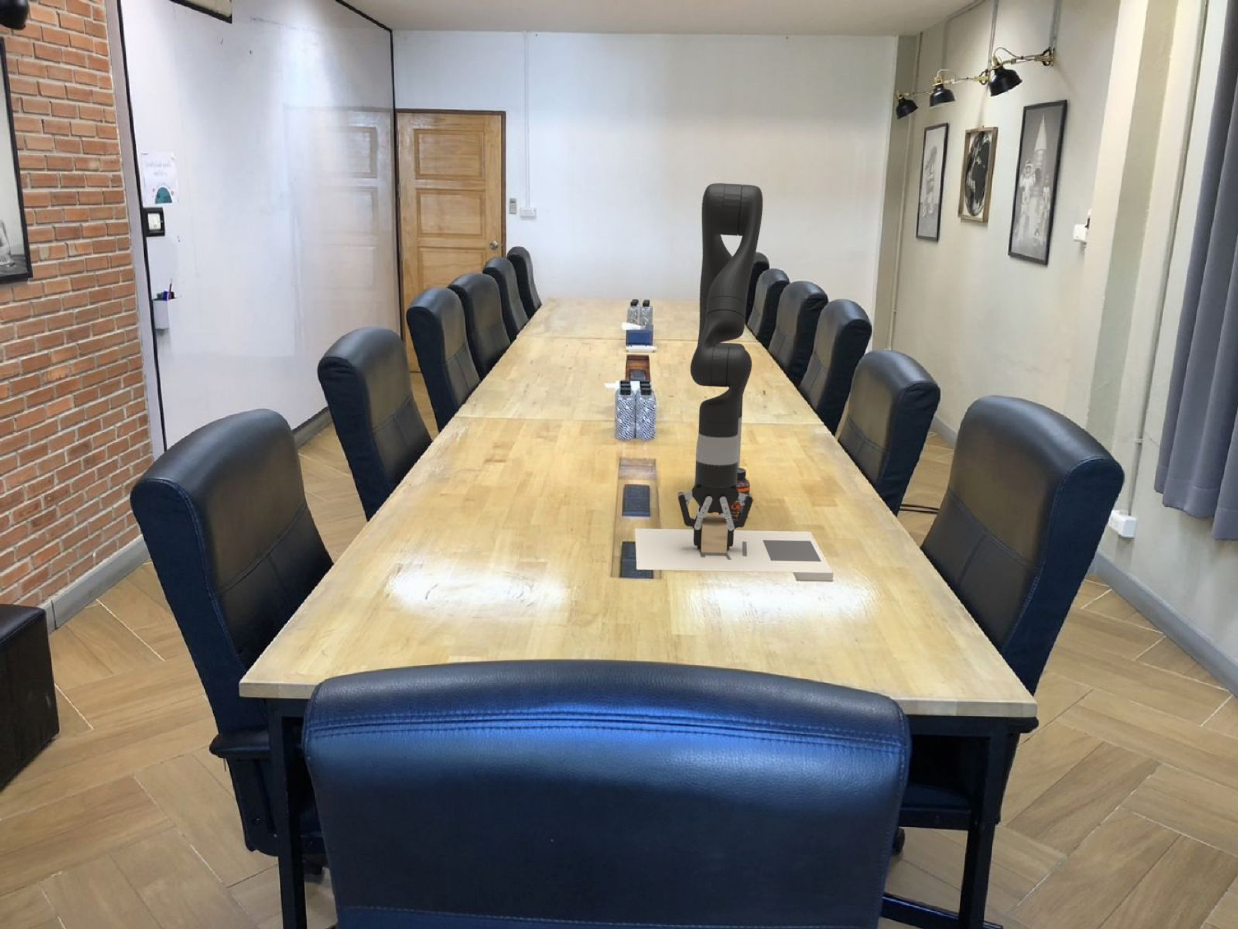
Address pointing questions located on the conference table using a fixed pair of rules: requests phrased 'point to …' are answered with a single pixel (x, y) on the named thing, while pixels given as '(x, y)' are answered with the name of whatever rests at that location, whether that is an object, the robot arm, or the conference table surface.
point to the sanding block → (714, 535)
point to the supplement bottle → (743, 488)
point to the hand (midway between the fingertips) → (712, 547)
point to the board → (734, 553)
